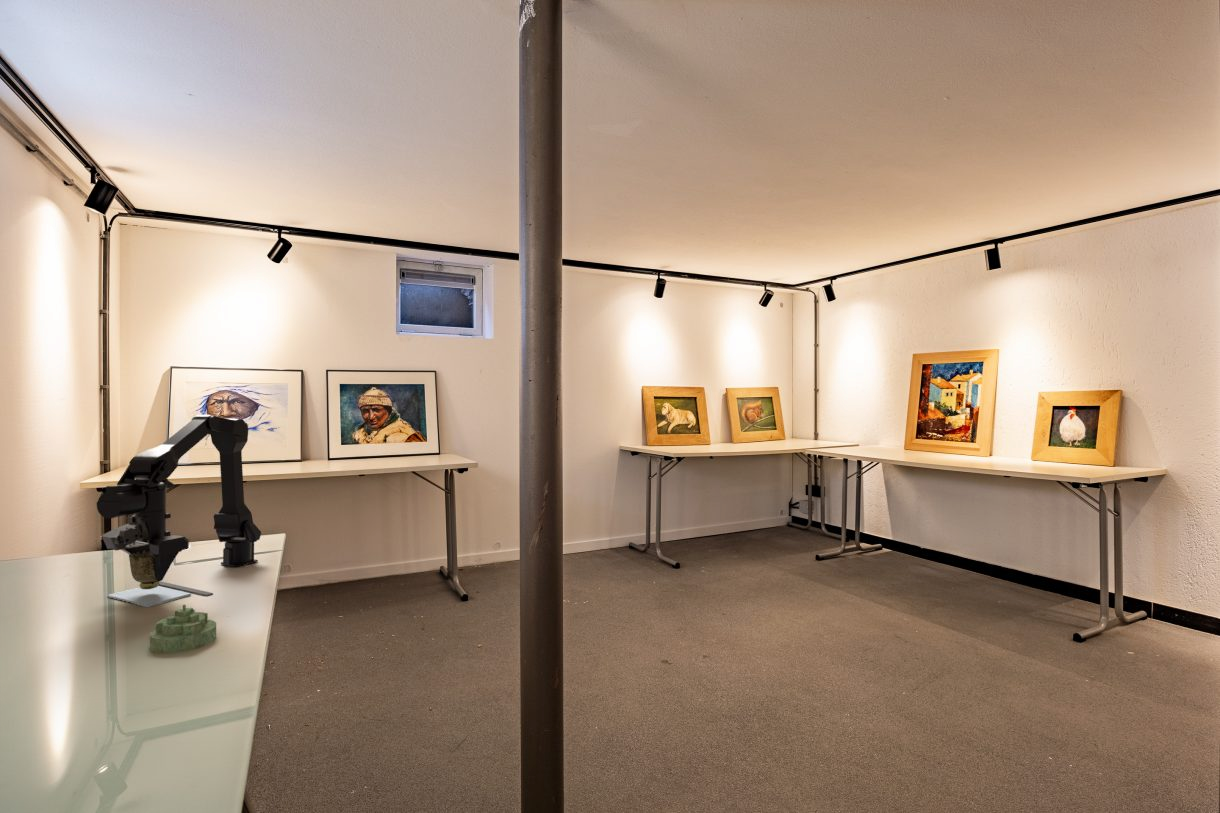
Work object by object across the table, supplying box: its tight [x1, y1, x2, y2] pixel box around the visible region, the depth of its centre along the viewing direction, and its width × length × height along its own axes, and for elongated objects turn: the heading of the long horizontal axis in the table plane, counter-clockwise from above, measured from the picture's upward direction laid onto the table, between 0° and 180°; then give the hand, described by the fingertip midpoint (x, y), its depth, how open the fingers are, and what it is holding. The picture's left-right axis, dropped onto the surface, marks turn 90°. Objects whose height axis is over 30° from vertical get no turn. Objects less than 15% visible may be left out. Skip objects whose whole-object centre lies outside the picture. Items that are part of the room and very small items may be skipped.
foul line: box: [159, 581, 214, 597], centre depth 142 cm, size 2×22×1 cm, turn 66°
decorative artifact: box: [149, 604, 217, 654], centre depth 111 cm, size 10×7×10 cm
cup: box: [128, 550, 160, 589], centre depth 136 cm, size 8×7×8 cm
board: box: [106, 586, 192, 608], centre depth 136 cm, size 9×15×1 cm, turn 66°
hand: (150, 578), depth 136 cm, fingers closed on cup, 7 cm apart
